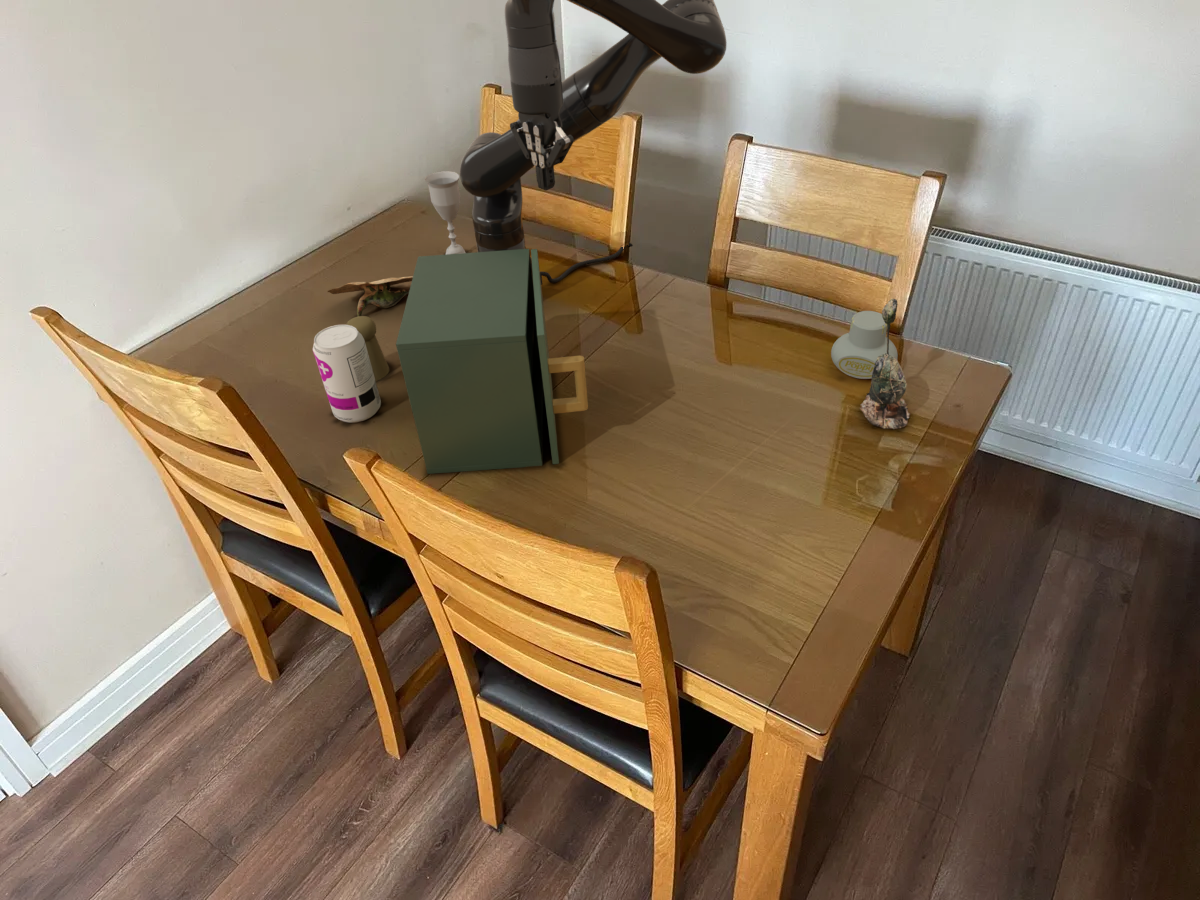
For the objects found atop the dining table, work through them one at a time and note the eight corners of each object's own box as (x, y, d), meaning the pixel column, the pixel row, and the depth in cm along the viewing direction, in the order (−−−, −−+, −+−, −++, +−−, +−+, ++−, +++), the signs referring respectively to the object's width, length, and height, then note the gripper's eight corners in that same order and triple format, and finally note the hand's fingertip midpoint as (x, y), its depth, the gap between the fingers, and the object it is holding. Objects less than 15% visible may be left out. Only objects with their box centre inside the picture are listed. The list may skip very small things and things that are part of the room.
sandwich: (387, 311, 188) (384, 274, 186) (431, 313, 179) (429, 275, 177) (314, 318, 174) (310, 279, 172) (358, 321, 165) (354, 280, 164)
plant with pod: (847, 429, 139) (864, 321, 126) (868, 391, 146) (886, 285, 133) (898, 443, 135) (922, 333, 122) (917, 403, 143) (941, 296, 130)
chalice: (478, 252, 193) (465, 173, 181) (462, 266, 188) (448, 186, 176) (450, 247, 195) (436, 169, 184) (433, 261, 191) (418, 182, 179)
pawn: (381, 383, 156) (367, 330, 149) (350, 380, 157) (335, 328, 150) (394, 364, 160) (381, 312, 153) (364, 361, 161) (349, 310, 154)
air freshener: (824, 375, 150) (830, 325, 144) (835, 350, 156) (842, 301, 149) (889, 388, 146) (898, 338, 140) (898, 362, 152) (908, 312, 145)
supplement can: (340, 430, 146) (317, 355, 136) (328, 405, 151) (305, 331, 142) (387, 414, 148) (367, 340, 139) (373, 390, 154) (353, 317, 144)
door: (580, 366, 156) (569, 245, 141) (592, 460, 136) (582, 330, 121) (545, 370, 156) (530, 249, 141) (552, 464, 136) (537, 335, 121)
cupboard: (543, 371, 156) (529, 248, 140) (542, 466, 136) (525, 335, 120) (443, 378, 156) (418, 256, 141) (427, 474, 136) (395, 344, 121)
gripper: (487, 72, 130) (502, 184, 141) (545, 90, 122) (556, 207, 133) (526, 60, 133) (537, 170, 145) (584, 76, 126) (592, 191, 137)
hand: (546, 187), depth 139 cm, fingers closed
